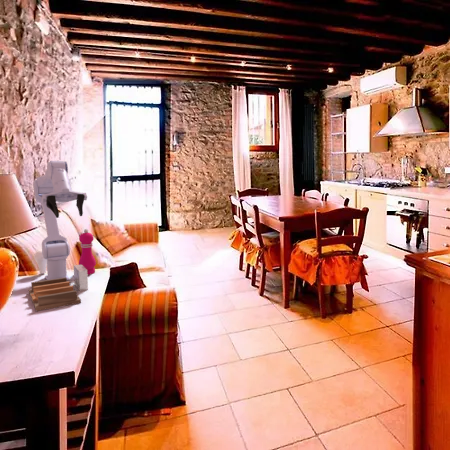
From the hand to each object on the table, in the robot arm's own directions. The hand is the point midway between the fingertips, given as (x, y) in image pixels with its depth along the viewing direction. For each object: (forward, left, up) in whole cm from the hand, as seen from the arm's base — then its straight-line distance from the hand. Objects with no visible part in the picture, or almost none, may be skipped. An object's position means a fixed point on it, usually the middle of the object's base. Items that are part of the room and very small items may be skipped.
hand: (69, 215), depth 121 cm
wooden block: (-13, +5, -31) cm, 34 cm away
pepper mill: (-31, +12, -31) cm, 45 cm away
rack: (-6, -6, -31) cm, 32 cm away
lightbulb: (-39, -5, -31) cm, 50 cm away
